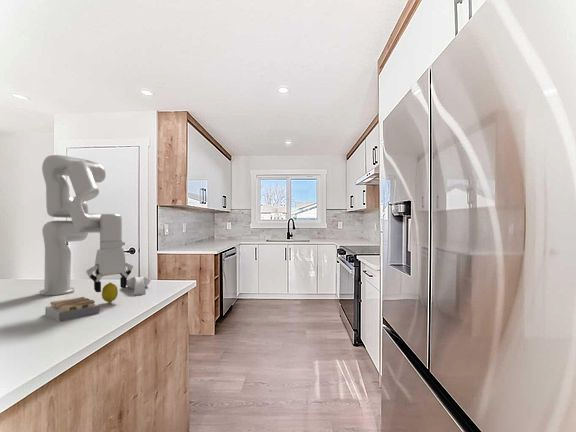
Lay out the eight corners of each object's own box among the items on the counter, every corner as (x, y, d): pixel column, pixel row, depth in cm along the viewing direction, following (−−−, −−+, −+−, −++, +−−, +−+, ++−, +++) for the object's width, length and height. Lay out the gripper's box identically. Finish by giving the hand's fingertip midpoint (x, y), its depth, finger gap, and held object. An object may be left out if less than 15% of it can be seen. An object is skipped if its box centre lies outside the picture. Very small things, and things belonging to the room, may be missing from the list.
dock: (45, 314, 114) (45, 307, 114) (83, 307, 124) (83, 300, 124) (60, 321, 107) (60, 313, 107) (99, 313, 117) (99, 305, 117)
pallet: (50, 307, 114) (50, 301, 114) (81, 301, 122) (82, 296, 123) (62, 312, 109) (62, 306, 109) (94, 306, 117) (94, 300, 117)
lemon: (110, 305, 127) (111, 284, 127) (98, 304, 128) (98, 283, 128) (120, 301, 133) (121, 281, 133) (108, 301, 134) (108, 280, 134)
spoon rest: (123, 286, 163) (123, 271, 163) (149, 284, 169) (149, 270, 169) (125, 296, 142) (125, 279, 142) (155, 294, 148) (155, 277, 148)
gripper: (127, 244, 140) (127, 285, 140) (82, 246, 126) (82, 292, 126) (137, 244, 135) (137, 287, 135) (91, 247, 121) (91, 294, 121)
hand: (111, 289), depth 130 cm, fingers open, 9 cm apart
